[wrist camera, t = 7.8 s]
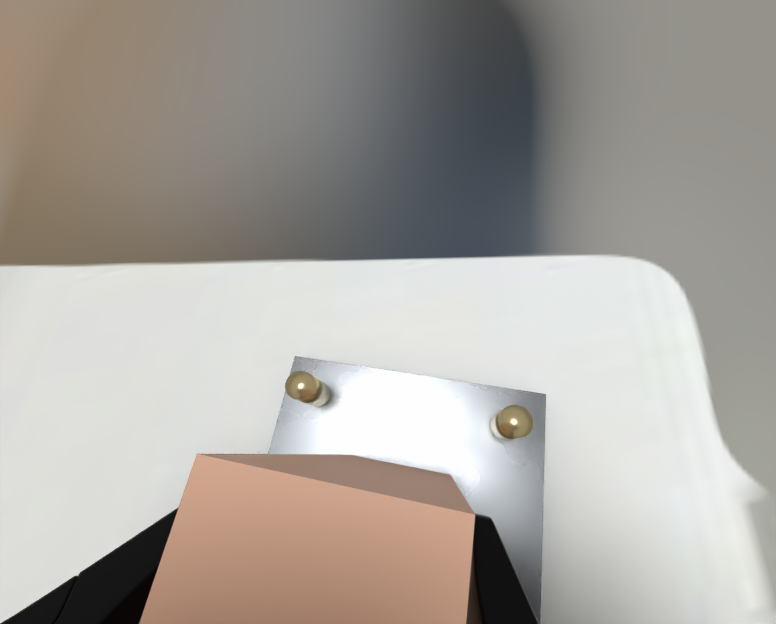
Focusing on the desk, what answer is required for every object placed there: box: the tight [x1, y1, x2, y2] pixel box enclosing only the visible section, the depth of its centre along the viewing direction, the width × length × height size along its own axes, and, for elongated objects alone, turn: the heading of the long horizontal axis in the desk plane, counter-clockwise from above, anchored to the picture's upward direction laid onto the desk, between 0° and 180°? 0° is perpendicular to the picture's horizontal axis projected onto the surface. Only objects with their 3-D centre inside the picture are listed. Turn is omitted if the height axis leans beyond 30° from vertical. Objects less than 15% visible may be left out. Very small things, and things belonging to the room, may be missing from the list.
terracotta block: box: [139, 454, 475, 624], centre depth 10 cm, size 4×4×11 cm
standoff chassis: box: [268, 356, 546, 624], centre depth 14 cm, size 12×12×3 cm
